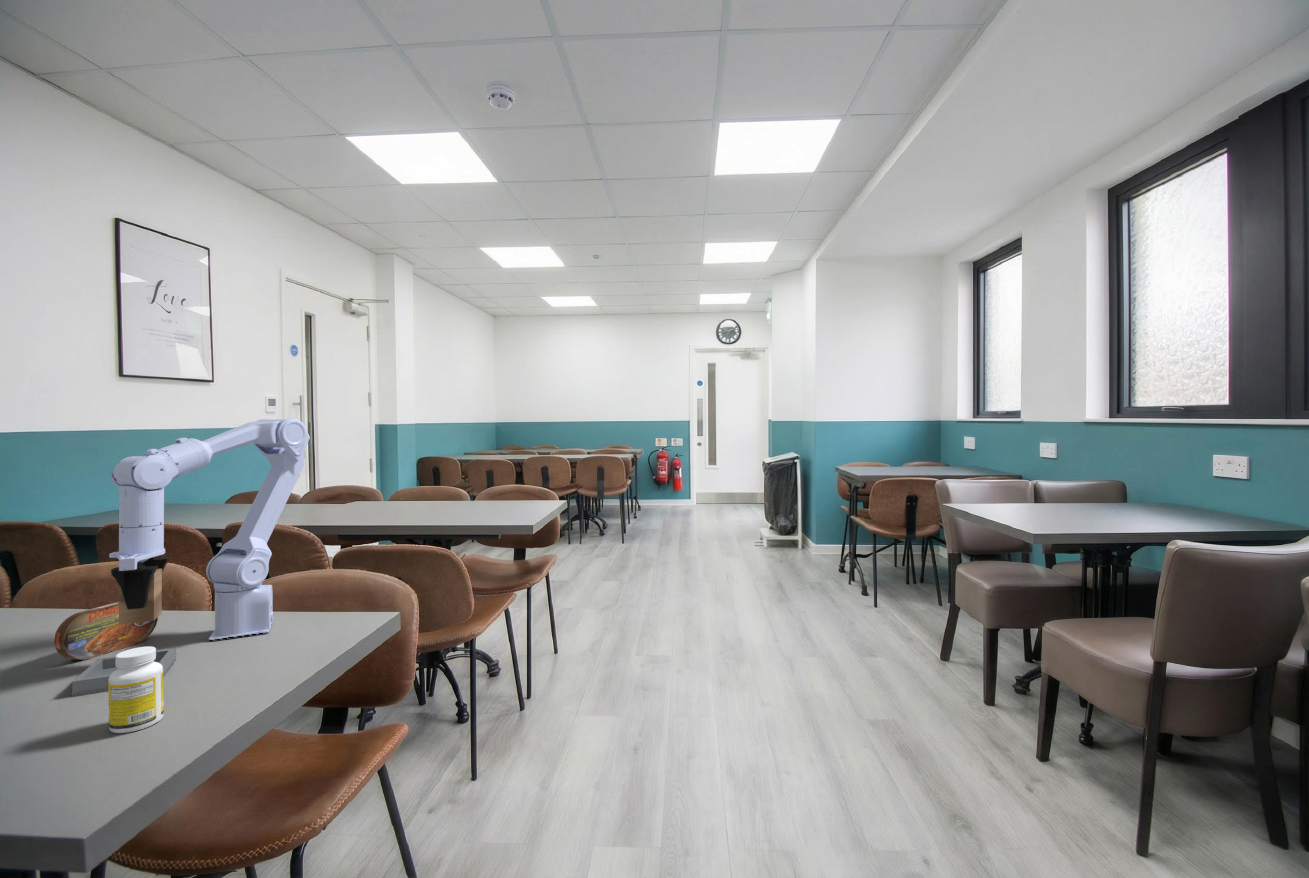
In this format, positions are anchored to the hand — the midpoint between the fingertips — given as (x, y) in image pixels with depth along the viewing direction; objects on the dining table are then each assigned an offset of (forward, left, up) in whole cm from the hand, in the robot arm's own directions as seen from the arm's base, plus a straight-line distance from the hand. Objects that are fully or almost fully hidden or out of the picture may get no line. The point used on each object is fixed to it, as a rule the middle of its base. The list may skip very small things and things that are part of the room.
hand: (141, 604), depth 96 cm
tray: (0, +7, -10) cm, 12 cm away
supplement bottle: (-6, +28, -10) cm, 30 cm away
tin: (+7, -10, -10) cm, 16 cm away
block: (0, 0, -3) cm, 3 cm away
